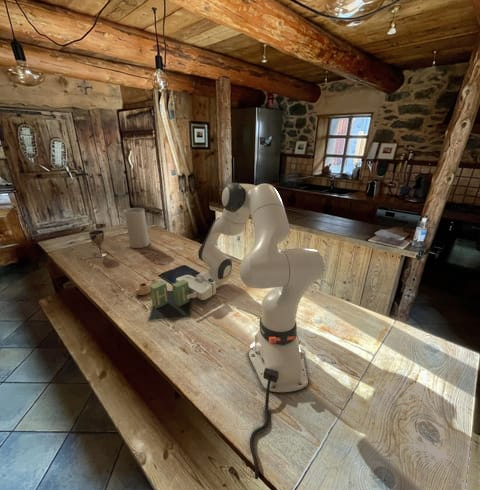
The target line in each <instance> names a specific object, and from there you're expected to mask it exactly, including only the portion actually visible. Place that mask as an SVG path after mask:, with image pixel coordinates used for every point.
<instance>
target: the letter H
mask: <svg viewBox="0 0 480 490" xmlns="http://www.w3.org/2000/svg"><path fill="white" fill-rule="evenodd" d="M150 291H151V292H150V297H151V303H152V307H153V306H154V307H156V308H159V307H161V306H163V305H165V304H167V303H169V302H168V294H167V291H168V287H167V283H166V282H165V281H163V280H160V281H157V283H156V284H153V285H151V286H150Z"/></svg>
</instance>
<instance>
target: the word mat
mask: <svg viewBox="0 0 480 490" xmlns="http://www.w3.org/2000/svg"><path fill="white" fill-rule="evenodd" d="M167 294H168V302H169V303H167V304H165V305H163V306H161V307H159V308H156V307H154V306H153V305H152V310H151V313H150V316H149V321H155V320H169V319H182V318H183V319H184V318H190V310H191V309H190V308H191V307H190V306H191V300H190V301H189V302H187V303H185V304H183V305H181V306H177V305H176V304H174V295H173V290H167ZM189 294H191V293H189Z"/></svg>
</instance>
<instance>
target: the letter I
mask: <svg viewBox="0 0 480 490" xmlns="http://www.w3.org/2000/svg"><path fill="white" fill-rule="evenodd" d="M171 286H172V288H173V289H172V291H173V295H174V304H176V305H177V306H181V305H183V304H185V303H187V302H189V301H190V302H191V298H189V299H186V298H185V295H186V294H188V293H189V285H188V282H187V281H185V280H181V281H179V282H177V283H176V282H174V283H172V285H171Z"/></svg>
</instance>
